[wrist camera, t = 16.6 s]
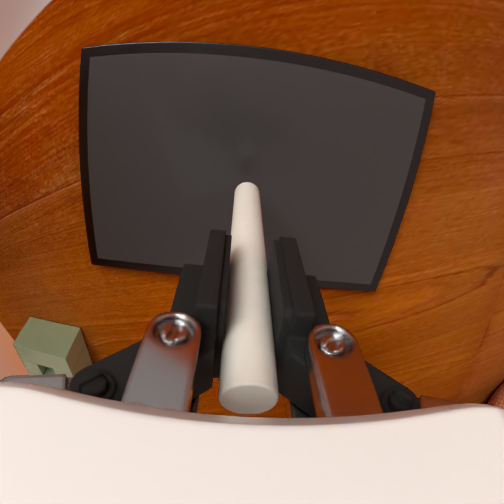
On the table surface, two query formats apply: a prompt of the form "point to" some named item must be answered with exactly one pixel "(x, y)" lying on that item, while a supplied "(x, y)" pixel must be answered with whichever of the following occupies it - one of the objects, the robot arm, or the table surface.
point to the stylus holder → (51, 348)
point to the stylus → (248, 314)
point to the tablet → (245, 154)
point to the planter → (497, 397)
